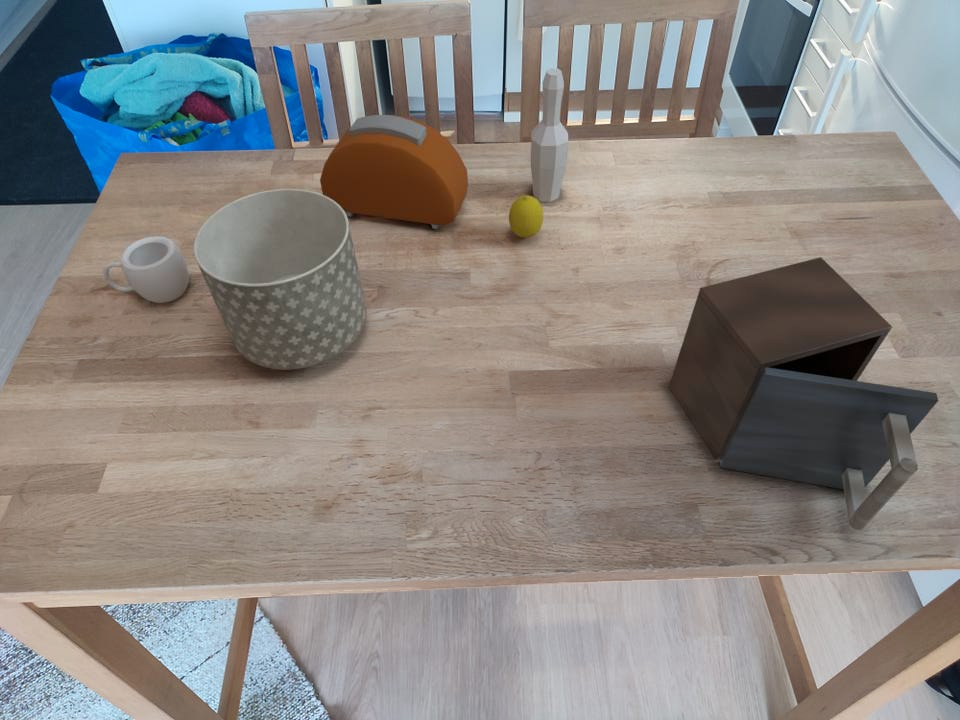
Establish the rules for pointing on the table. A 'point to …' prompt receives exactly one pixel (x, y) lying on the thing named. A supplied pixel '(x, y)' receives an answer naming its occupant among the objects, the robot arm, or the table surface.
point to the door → (830, 435)
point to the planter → (283, 277)
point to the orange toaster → (396, 171)
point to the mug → (152, 269)
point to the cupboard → (769, 340)
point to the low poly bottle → (549, 141)
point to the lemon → (526, 216)
